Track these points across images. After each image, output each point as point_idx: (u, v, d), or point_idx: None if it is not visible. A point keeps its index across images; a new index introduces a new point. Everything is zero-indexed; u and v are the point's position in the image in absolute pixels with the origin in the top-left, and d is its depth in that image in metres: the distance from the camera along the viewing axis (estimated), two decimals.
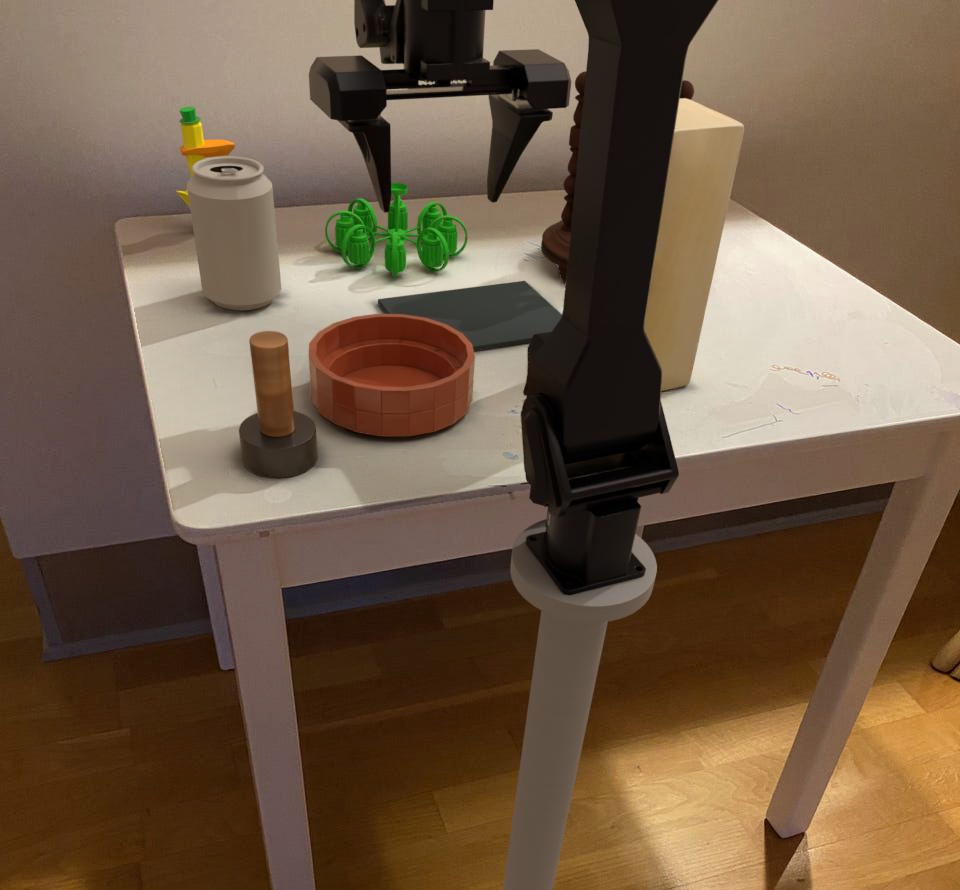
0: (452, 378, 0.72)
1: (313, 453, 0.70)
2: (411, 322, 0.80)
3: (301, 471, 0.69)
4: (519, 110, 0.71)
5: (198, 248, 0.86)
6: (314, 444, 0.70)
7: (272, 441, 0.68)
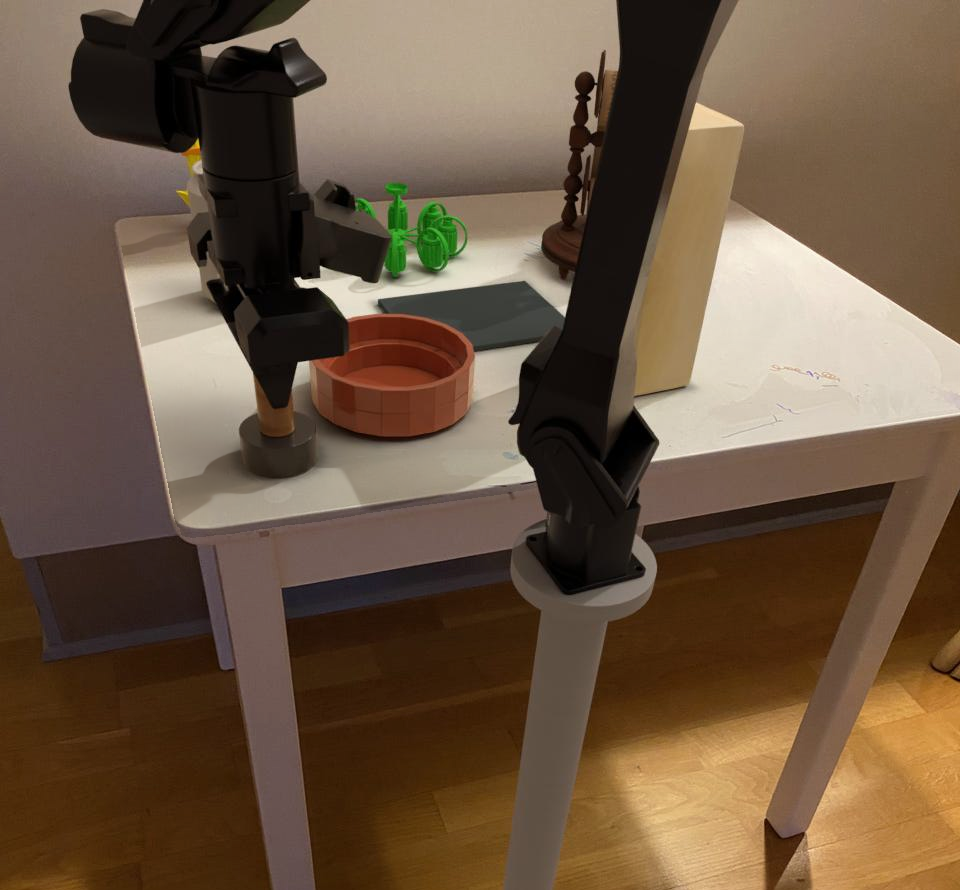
0: (452, 378, 0.72)
1: (313, 453, 0.70)
2: (411, 322, 0.80)
3: (301, 471, 0.69)
4: None
5: None
6: (314, 444, 0.70)
7: (272, 441, 0.68)
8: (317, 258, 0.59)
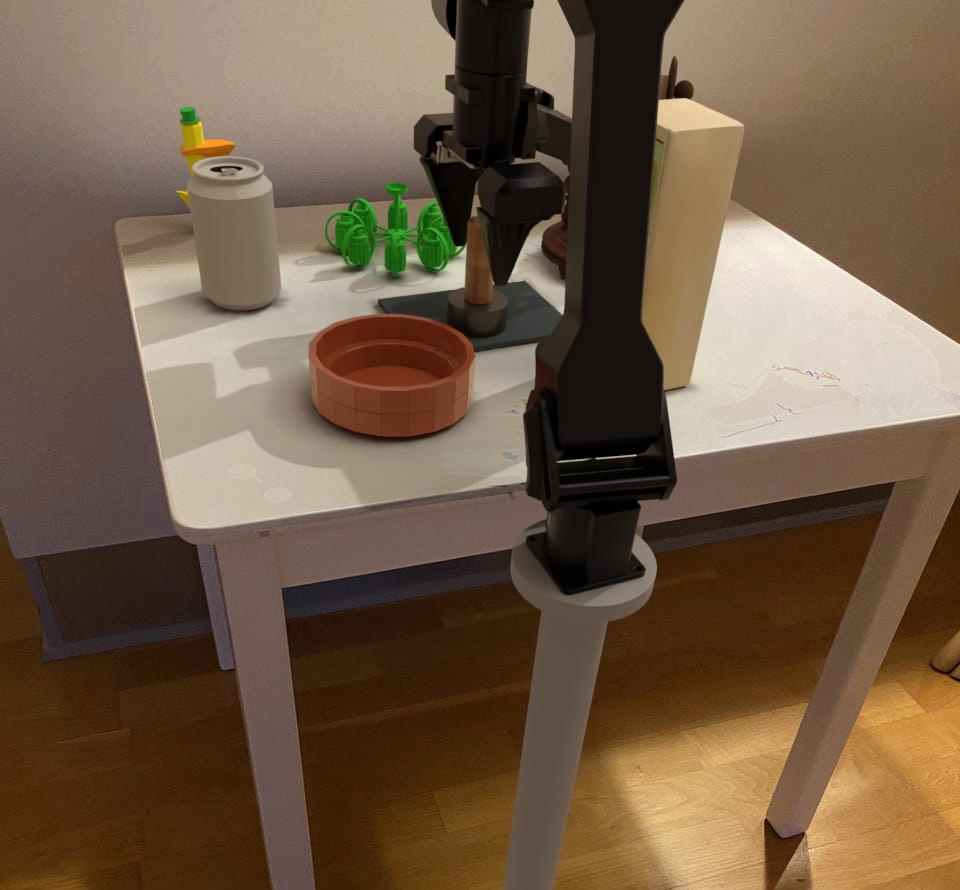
0: (452, 378, 0.72)
1: (505, 319, 0.87)
2: (411, 322, 0.80)
3: (496, 333, 0.87)
4: None
5: (198, 248, 0.86)
6: (506, 312, 0.87)
7: (477, 307, 0.85)
8: (535, 142, 0.76)
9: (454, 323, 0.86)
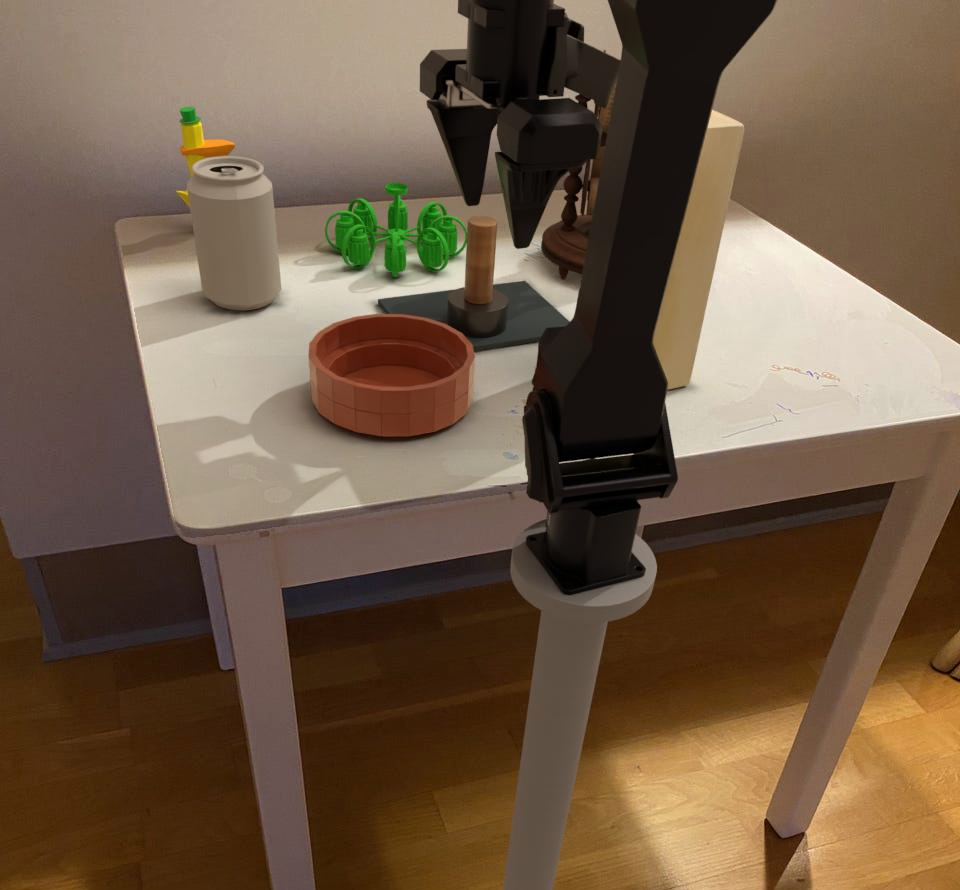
0: (452, 378, 0.72)
1: (505, 319, 0.87)
2: (411, 322, 0.80)
3: (496, 333, 0.87)
4: None
5: (198, 248, 0.86)
6: (506, 312, 0.87)
7: (477, 307, 0.85)
8: (563, 75, 0.65)
9: (454, 323, 0.86)
